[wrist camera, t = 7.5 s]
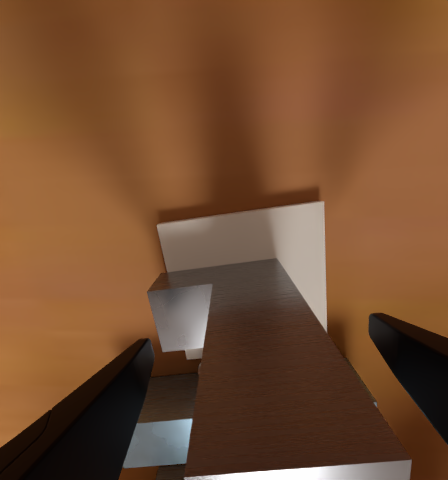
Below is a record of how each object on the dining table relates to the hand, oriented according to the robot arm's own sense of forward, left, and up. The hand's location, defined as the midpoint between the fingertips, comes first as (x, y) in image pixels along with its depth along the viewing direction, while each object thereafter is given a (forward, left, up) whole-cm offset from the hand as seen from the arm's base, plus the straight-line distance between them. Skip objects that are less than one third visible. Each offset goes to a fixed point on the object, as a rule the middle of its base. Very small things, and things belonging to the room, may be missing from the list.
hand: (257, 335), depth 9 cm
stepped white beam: (0, 0, -4) cm, 4 cm away
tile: (0, 0, -4) cm, 4 cm away
